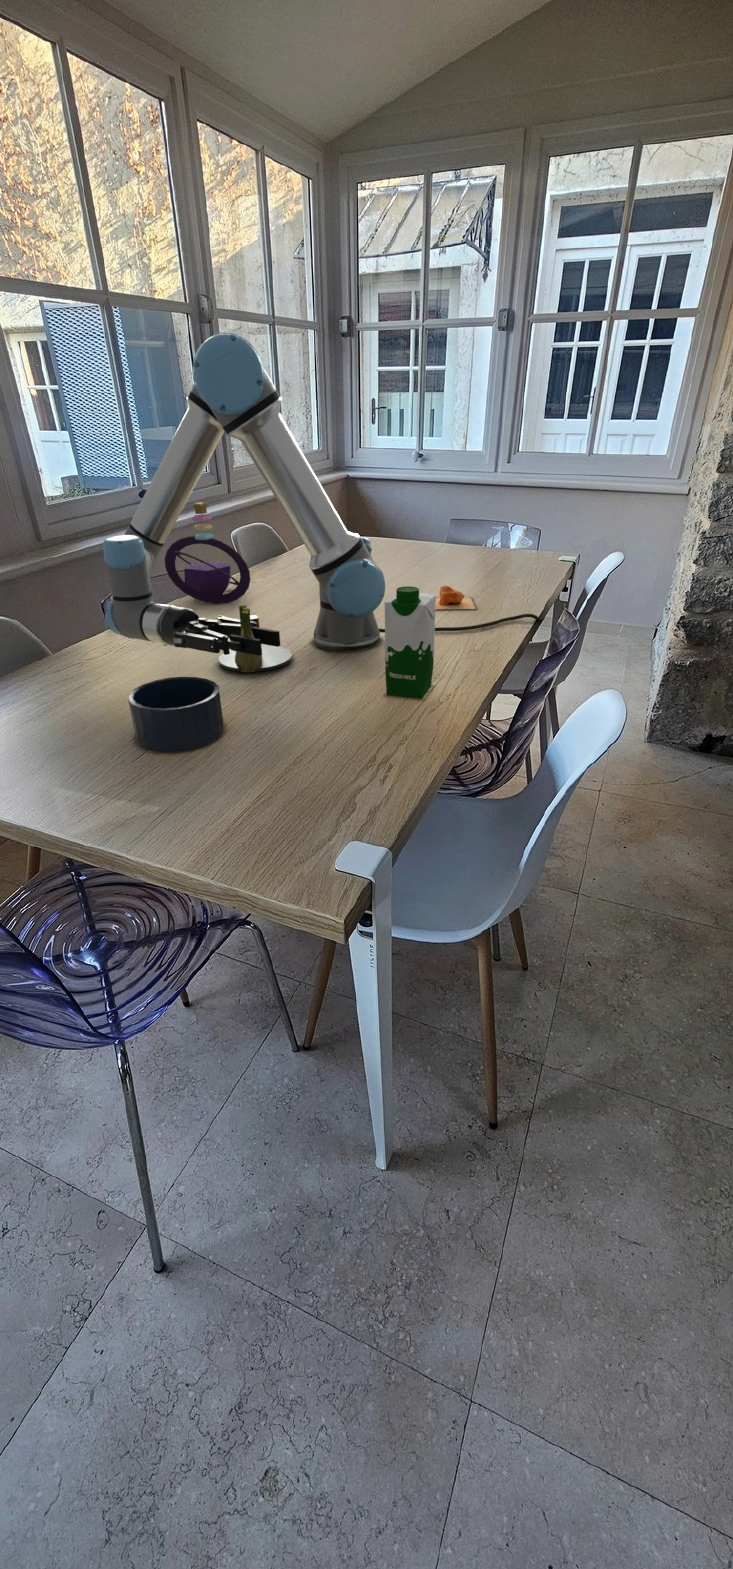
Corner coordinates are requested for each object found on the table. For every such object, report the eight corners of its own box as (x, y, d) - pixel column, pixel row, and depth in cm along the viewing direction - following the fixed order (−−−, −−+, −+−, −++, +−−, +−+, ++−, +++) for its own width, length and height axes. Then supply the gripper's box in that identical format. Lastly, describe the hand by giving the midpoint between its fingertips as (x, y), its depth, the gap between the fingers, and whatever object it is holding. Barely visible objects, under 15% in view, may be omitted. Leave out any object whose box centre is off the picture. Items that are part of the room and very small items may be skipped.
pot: (208, 709, 128) (202, 671, 124) (236, 739, 117) (231, 698, 113) (127, 727, 122) (119, 687, 118) (149, 760, 111) (140, 717, 107)
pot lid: (274, 645, 160) (271, 603, 155) (303, 665, 148) (301, 620, 143) (209, 657, 153) (203, 614, 148) (234, 679, 141) (228, 633, 137)
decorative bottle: (178, 610, 187) (163, 511, 174) (165, 592, 203) (150, 501, 191) (259, 600, 194) (250, 504, 182) (240, 584, 211) (231, 495, 199)
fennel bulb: (256, 676, 127) (249, 611, 121) (231, 675, 128) (223, 610, 122) (267, 665, 132) (261, 602, 126) (242, 664, 133) (235, 601, 127)
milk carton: (380, 696, 132) (379, 590, 122) (394, 680, 140) (395, 579, 130) (425, 702, 130) (428, 594, 120) (437, 685, 137) (441, 582, 127)
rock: (475, 609, 183) (476, 593, 181) (429, 610, 183) (429, 593, 181) (470, 597, 193) (471, 582, 191) (426, 598, 194) (426, 582, 192)
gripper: (206, 632, 143) (299, 649, 133) (142, 658, 130) (240, 679, 119) (201, 595, 139) (296, 609, 129) (134, 618, 126) (235, 636, 116)
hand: (269, 643), depth 124 cm, fingers closed on fennel bulb, 5 cm apart
